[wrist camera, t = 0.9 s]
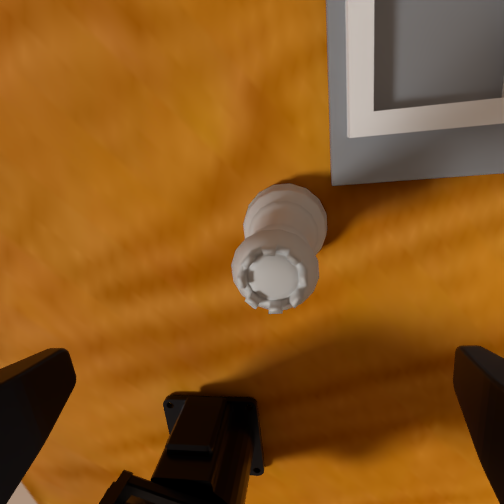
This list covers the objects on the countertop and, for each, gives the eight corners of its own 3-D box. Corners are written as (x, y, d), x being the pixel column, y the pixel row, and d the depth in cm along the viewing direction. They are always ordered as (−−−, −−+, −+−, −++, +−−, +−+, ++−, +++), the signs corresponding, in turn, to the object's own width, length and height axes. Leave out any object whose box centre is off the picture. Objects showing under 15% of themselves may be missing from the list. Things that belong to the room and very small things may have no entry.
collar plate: (523, 168, 17) (551, 174, 15) (331, 182, 19) (333, 190, 17) (568, -160, 14) (614, -209, 12) (322, -108, 15) (324, -143, 13)
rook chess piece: (229, 215, 20) (184, 269, 13) (292, 164, 19) (281, 191, 12) (279, 274, 21) (263, 357, 14) (344, 229, 20) (365, 294, 12)
